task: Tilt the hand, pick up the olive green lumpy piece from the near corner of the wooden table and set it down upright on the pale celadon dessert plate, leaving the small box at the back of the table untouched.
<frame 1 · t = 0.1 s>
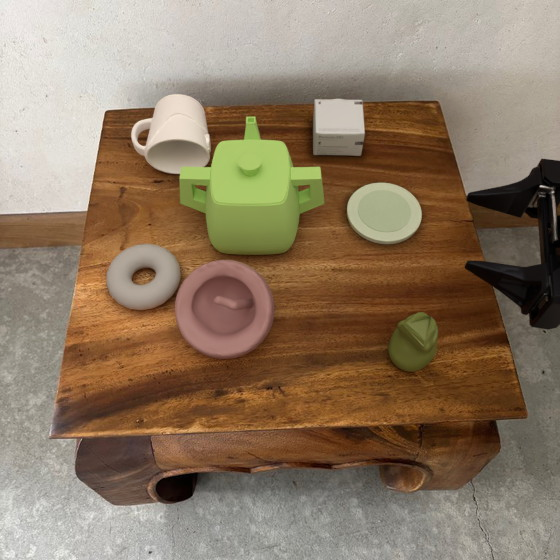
hand: (466, 229, 59), 17 cm above the table, tool horizontal, fingers open, 9 cm apart
donut: (146, 283, 76), on the table
mortar and pestle: (229, 331, 72), on the table
olive green lumpy piece: (405, 358, 70), on the table
mug: (175, 154, 88), on the table
plate: (383, 214, 82), on the table
teapot: (254, 211, 82), on the table
small box: (336, 140, 90), on the table
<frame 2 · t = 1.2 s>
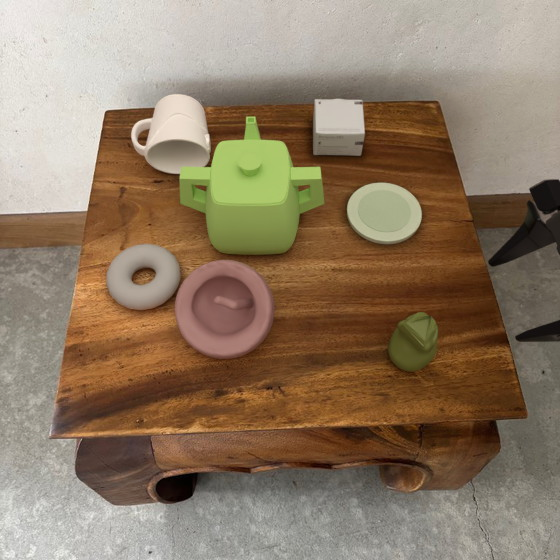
hand: (502, 300, 59), 13 cm above the table, tool tilted 45°, fingers open, 9 cm apart
nothing on the table moved.
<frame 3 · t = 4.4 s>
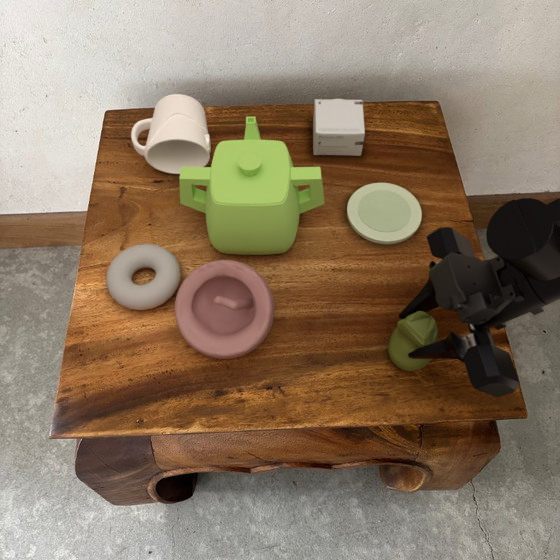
hand: (405, 336, 64), 7 cm above the table, tool tilted 45°, fingers closed on olive green lumpy piece, 5 cm apart
olive green lumpy piece: (406, 358, 70), on the table, touching gripper
everything else where it was.
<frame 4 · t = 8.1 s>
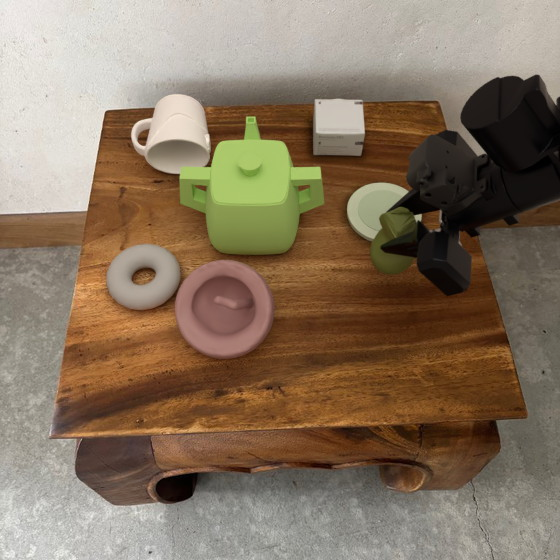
hand: (385, 232, 64), 13 cm above the table, tool tilted 45°, fingers closed on olive green lumpy piece, 5 cm apart
olive green lumpy piece: (388, 265, 70), point 6 cm above the table, touching gripper
everything else where it was.
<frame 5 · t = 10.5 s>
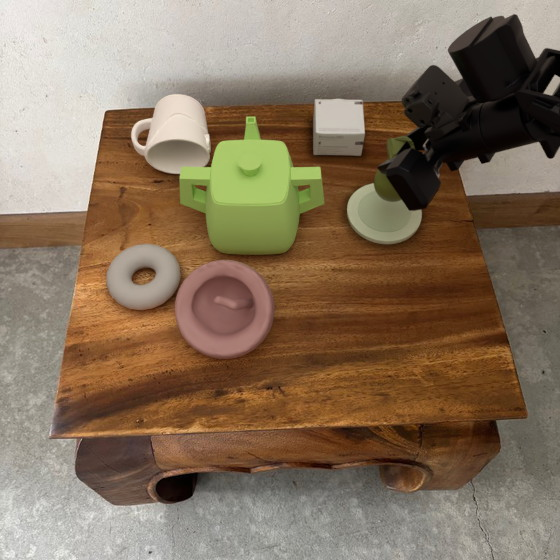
hand: (388, 157, 72), 11 cm above the table, tool tilted 45°, fingers closed on olive green lumpy piece, 5 cm apart
olive green lumpy piece: (390, 195, 78), point 4 cm above the table, touching gripper
everything else where it was.
when the fingers open (8 cm above the table, at t = 12.0 s): olive green lumpy piece stays where it is, resting on plate.
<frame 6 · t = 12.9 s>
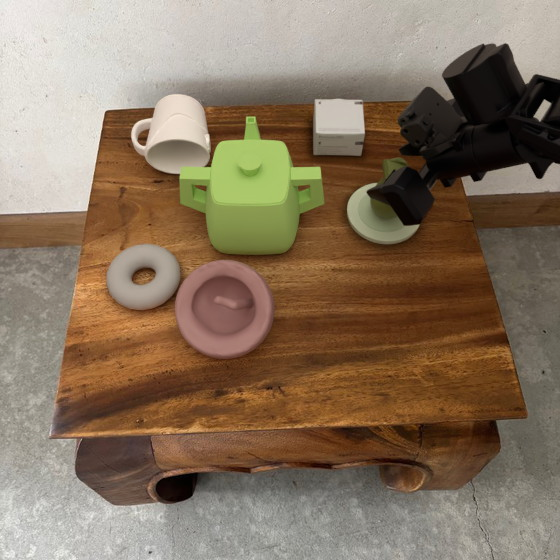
hand: (384, 172, 75), 8 cm above the table, tool tilted 45°, fingers open, 9 cm apart
olive green lumpy piece: (385, 211, 81), point 1 cm above the table, touching plate
everything else where it was.
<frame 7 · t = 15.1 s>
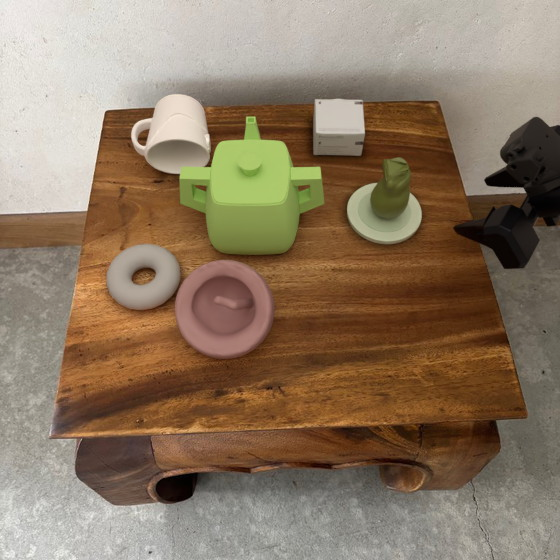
hand: (471, 205, 69), 11 cm above the table, tool tilted 45°, fingers open, 9 cm apart
nothing on the table moved.
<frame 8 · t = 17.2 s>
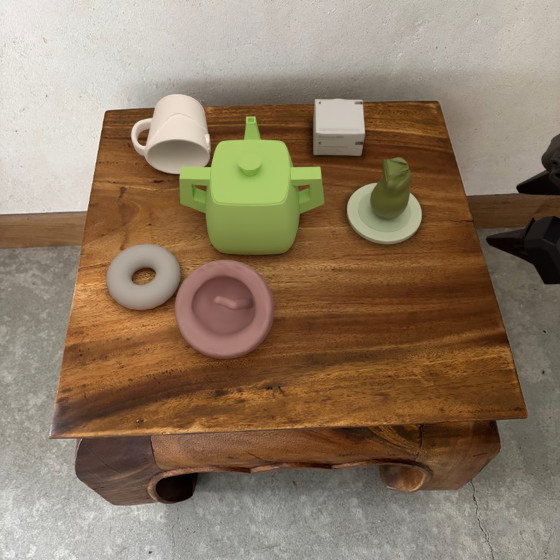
hand: (502, 214, 64), 14 cm above the table, tool tilted 45°, fingers open, 9 cm apart
nothing on the table moved.
at the end: olive green lumpy piece inside the target area on the plate (0.2 cm from its centre), point 0.7 cm above the plate's base; olive green lumpy piece tilted 0°; small box moved 0.2 cm from its start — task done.
